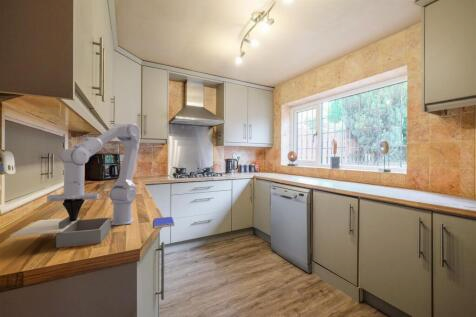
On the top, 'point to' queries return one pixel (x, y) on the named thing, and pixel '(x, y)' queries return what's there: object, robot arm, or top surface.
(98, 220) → the box
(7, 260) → the top surface
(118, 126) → the robot arm
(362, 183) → the top surface
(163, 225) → the hard drive
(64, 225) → the mailer lid
